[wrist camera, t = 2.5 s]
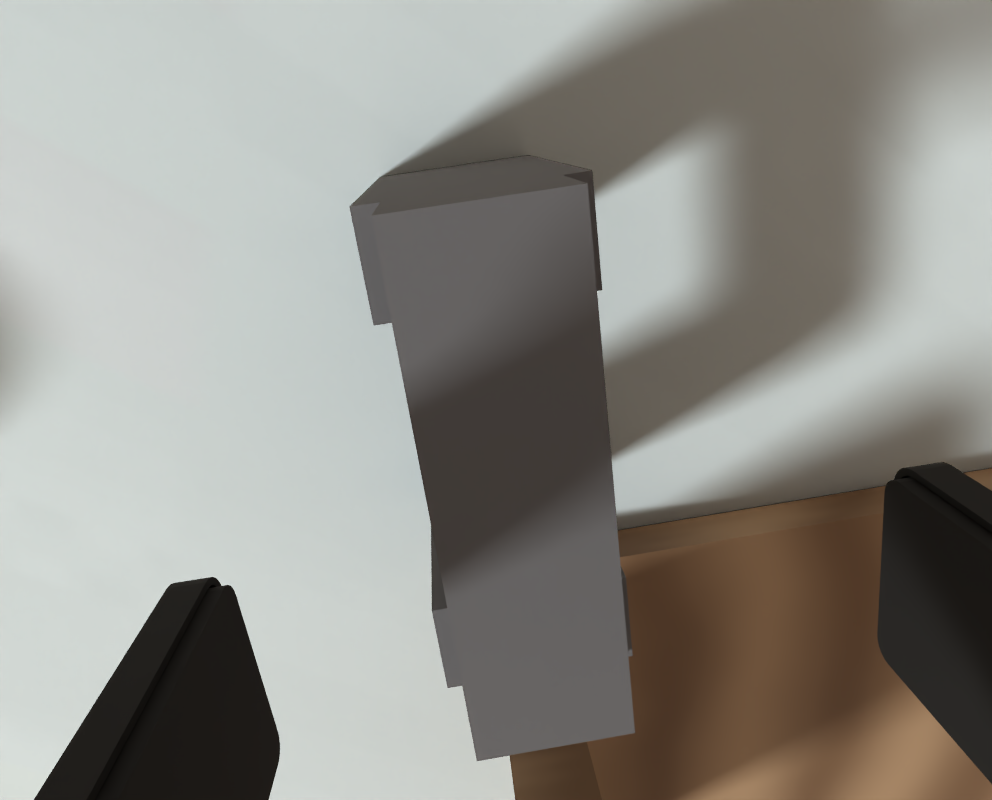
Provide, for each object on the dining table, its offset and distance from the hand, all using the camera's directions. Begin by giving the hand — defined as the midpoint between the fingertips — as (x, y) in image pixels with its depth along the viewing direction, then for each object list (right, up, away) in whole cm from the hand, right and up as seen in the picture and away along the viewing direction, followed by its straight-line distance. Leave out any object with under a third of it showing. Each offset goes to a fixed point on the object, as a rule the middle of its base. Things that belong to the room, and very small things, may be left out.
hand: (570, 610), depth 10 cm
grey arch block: (-1, +5, +11) cm, 12 cm away
